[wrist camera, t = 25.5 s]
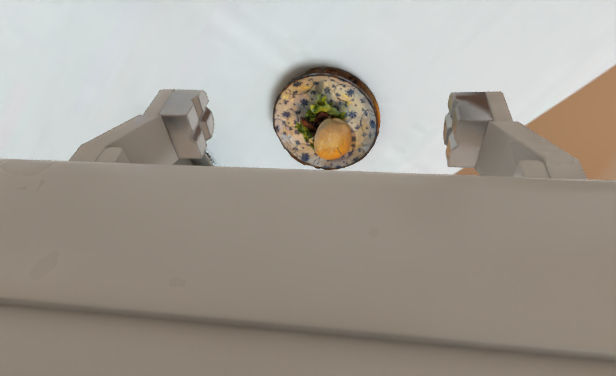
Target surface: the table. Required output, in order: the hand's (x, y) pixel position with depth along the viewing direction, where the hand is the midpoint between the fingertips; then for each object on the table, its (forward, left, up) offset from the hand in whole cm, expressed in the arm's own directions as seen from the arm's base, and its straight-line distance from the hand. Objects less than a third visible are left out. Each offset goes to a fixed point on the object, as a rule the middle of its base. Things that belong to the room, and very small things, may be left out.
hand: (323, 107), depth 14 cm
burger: (+11, -12, -29) cm, 33 cm away
